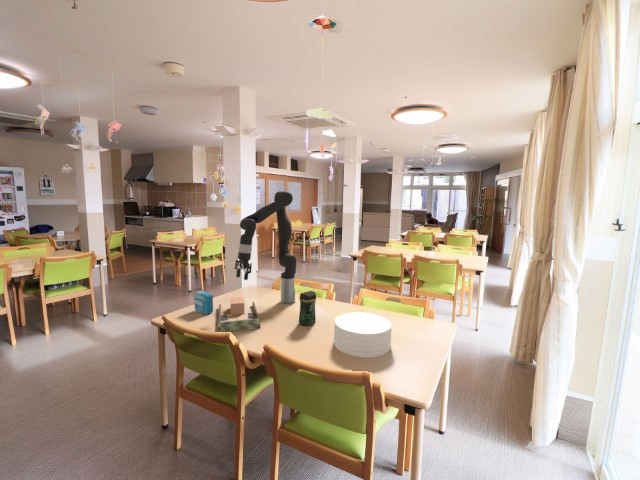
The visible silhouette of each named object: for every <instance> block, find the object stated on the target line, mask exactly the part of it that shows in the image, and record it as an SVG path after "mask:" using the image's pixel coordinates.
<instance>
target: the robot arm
mask: <svg viewBox="0 0 640 480" xmlns="http://www.w3.org/2000/svg"><path fill="white" fill-rule="evenodd" d="M293 199H294V198H293V194H292V192H290V191H280V190H278V191H277V192H276V193H275V194H274V199H273V200H274V202H272V203H269V204H267V205H264V206H263V207H261V208H259V209H257V210H256V211H255V212H254V213H252V214H250V215H247V216H245V217H244V218H242V220H240V222H239V228H240V229H242V230H243V231H244V233H243V234H241V236H240V239H239V245H238V253H237V259H235V264H234V270H236V278H241V271H242V270H243V272H244V275H243V280H244V281H248V279H249V274H252V268H253V267H252V265H253V263H252V262H249V261H250V260H251V259H252V258H251V257H252V247H253V238H254V236H255V233H256V230H257V224H260V223H262V222H263V221H265V220H267V218H269V217H270V216H272V215H273V214H275V213H276V223H277V238H278V263H279V265H280V267H283V268H285V269H284V271H282V272H281V273H280V302H281V303H282V304H293V303H296V288H295V276H296V271H297V257H296V256H295V255H294V254H290V253H289V243H290V241H291V239H292V236H293V229H292V228H293V227H292V223H291V221H290V218H289V216H288V215H287V212H286V210H287V209H286V207H288V206H289V205H291V204H292V202H293Z"/></svg>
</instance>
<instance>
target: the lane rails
mask: <svg viewBox="0 0 640 480" xmlns="http://www.w3.org/2000/svg"><path fill="white" fill-rule="evenodd" d="M251 304H252V309H253V313H255V317H256V318H248V319H241V320H239V319H237V320H224V321H222V320H221V315H222V314H221V313H222V311H221V310H222V304H221V303H219V305H218V326H217V327H218V328H217V329H218V330H217V331H223V332H231V331H232V330H234V331H242V330H251V329H252V330H253V329H255V330H256V329H260V328H261V322H260V318H259V315H258V311H257V307H256V303H255V301H252V303H251ZM229 330H230V331H229Z"/></svg>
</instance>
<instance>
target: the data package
mask: <svg viewBox="0 0 640 480" xmlns="http://www.w3.org/2000/svg"><path fill="white" fill-rule="evenodd" d="M193 296H194V297H193V299H194V311H195V312H197V313H201V314H204V315H209V314H211V313H213V311H214V295H213V293H210V292H207V291H203V290H199V291H196V292H194V295H193Z"/></svg>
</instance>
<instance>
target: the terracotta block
mask: <svg viewBox="0 0 640 480" xmlns="http://www.w3.org/2000/svg"><path fill="white" fill-rule="evenodd" d="M229 299H230V316H232V315H244V314H245V299H244V296H242V297H241V296H239V297H230V298H229Z"/></svg>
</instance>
